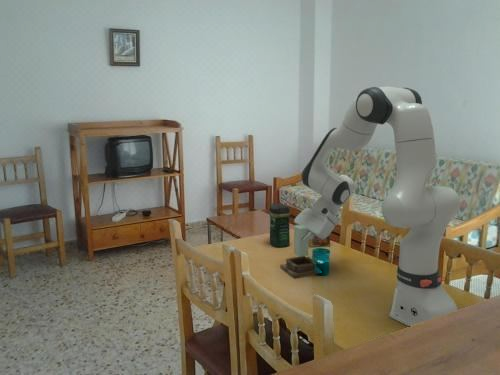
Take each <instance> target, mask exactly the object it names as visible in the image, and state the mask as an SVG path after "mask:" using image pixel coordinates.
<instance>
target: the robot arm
mask: <svg viewBox="0 0 500 375" xmlns="http://www.w3.org/2000/svg"><path fill="white" fill-rule="evenodd" d="M385 123H386V124H389V125H390V126H391V127H392V130H393V136H394V138H393V139H394V147H395V158H396V159H395V161H396V173H395V178H394V182H393V184H392V187H391V189H390V191H389V193H388V194H387V195H386V196H385V197H384V199H383V200H382V203H381V215H382V217H383V219H384V221H385V222H386V223H387V225H389V226H391V227H394V228H402V229H403V228H404V229H405V228H406V229H409V228H410V230H409V231H408V233H407V234H406V235H405V236H404V237H403V238H402V239H401V241H400V243H399V255H398V257H399V258H398V265H397V267H396V279H397V283H396V285H395V286H396V287H395V289H394V295H393V299H392V300H393V301H392V305H391V307H390V308H391V310H390V312H389V318H391V319H393V320H395V321H398V322H400V323H402V324H403V325H406V327H409V326H411V325H414V324H417V323H420V322H423V321H426V320H429V319H432V318H435V317H438V316H441V315H445V314H448V313H451V312H454V311H457V310H458V306H457V304H456V302H455V300H454V298H453V297H451V296H450V295H449V293H448V292H447V291H446V290H445V288H444V286H442V282H444V281H445V280H444V279H445V277H444V276H443V277H441V275H440V271H439V269H438V268H439V265H438V264H439V257H440V256H439V255H440V254H439V253H440V247H441V243H442V239H443V236H444V235H445V232H446V230H447V228H448V226H449V224H450V222H451V221H452V220H453V219H454V217H456V215H458V213H459V212H460V209H461V199H460V196H459V194H458V193H457V191H455V189H454V188H452V187H448V186H443V185H431V186H427V183H428V179H429V176H430V174H431V173H432V172H433V171H434V170H435V169H436V167H437V163H438V162H437V161H438V160H437V153H436V152H437V151H436V142H435V134H434V129H433V122H432V119H431V116H430V113H429V110H428V107H426V106H425V105H423V101H422V97H421V95H420V93H419V92H418V91H416V90H415V89H412V88H409V87H395V86H390V85H389V86H388V85H387V86H386V85H385V86H378V87H377V86H372V87H368V88H365V89H362V91H360V92H359V94H358V95H357V96H355V98H354V99H353V101H352V102H351V104H350V105H349V107H348V109H347V111H346V112H345V115H344V117H343V120H342V122H341V124H340V125H339V126H338V127H333V128H332V129H330V130H329V131H328V132H327V133H326V135H325V136H324V138H323V139H322V140H321V142H320V144H319V146H318V147H317V149H316V151H315V152H314V154H313V155H312V157H311V159H310V160H309V161H308V163H307V164H306V166H304V168H303V170H302V172H301V180H302V184H303V185H304V186H305V187H307V188H309V189H311V190H314V192H316V193H317V194H319V195H320V197H318V199H317V200H316V201H315V202H314V204H313V205H312V206H309V207H306V208H304V209H303V210H302V211H301V212H300V213H299V214H298V215H297V216H295V218H294V220H293V223H295V225H296V226H297V225H305V226H307V227H308V230H309V232H308V235H307V236H305V237H303V238H302V239H301V241H302V242H304V243H307V241H308V240H310V239H312V238H313V237H314V236H317V237H318V238H320V239H322V240H323V239H325V238H326V237H327V236H328V235H329V234H330V235H331V233H332V232H333V231H334V229H335V227H336V226H338V225H339V223H340V220H339V219H338V217H337V216H336V215H337V213H338V212H339V210H340V208H341V207H342V206H344V205H345V204H346V203H347V201H348V200H350V197H351V196H352V194H353V192H354V190H355V189H356V184H355V182H354V181H353V179H352V178H351V177H350V176H348V175H346V174H340V175H339V174H337V173H336V172H334V171H333V170H331V169H330V168H328V167H327V166H326V163H325V162H326V160H327V159H328V157H329V156H330V154H331V153H332V151H333V150H334V149H341V150H345V151H358V150H362V149H363V148H365V147H367V146H368V144H370V142H371V140H372V137H373V136H374V133H375V132H376V130H377V126H378V125H385Z"/></svg>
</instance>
